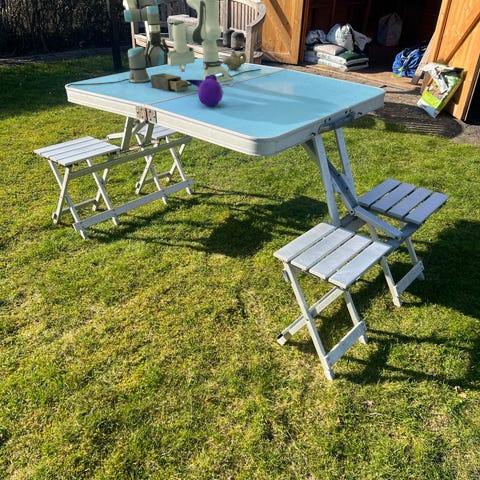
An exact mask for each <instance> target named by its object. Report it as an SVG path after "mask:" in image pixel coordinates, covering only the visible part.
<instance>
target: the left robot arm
mask: <svg viewBox="0 0 480 480" xmlns="http://www.w3.org/2000/svg"><path fill="white" fill-rule="evenodd" d="M122 5H123V8H124V10H123V15H124V21H125V22H126V23H136V22H137V23H138V22H144V30H145V36H146V40H145V43H146V44H145V48H144V47H143V46H137V47H132V48H130V49H128V50H127V57H128V64H129V65H128V66H129V76H128V78H125V79H122V80H117V81H107V82H97V83H95V82H94V83H69V84H70V85H69V84H68V85H67V87H68V88H69V87H70V86H89V85H93V86H94V85H106V84H115V83H116V84H117V83H121V82H125V81H128V82H129V83H133V84H141V83H148V82H150V81H151V78H150V76H149V74H148V71H147V67H149V68H151V67H152V66H162V65H168V52H169V51H170V48H169V46H168V45H167V42H166V39H165V38H162V33H161V25H160V14H159V12H160V11H159V4H158V0H122ZM169 53H170V52H169ZM72 131H73V135H74V137H76V132H75V129H73V130H72Z"/></svg>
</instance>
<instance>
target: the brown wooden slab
mask: <svg viewBox="0 0 480 480" xmlns="http://www.w3.org/2000/svg"><path fill="white" fill-rule="evenodd" d="M174 79H181V80H182V76H179V75H174V74H170V73H165V72H164V73H163V72H162V73H157V74H152V75H150V83H151V88H153V89H157V90H161V91H164V92H173V91H174V92H175V90H172V89H170V87H169V80H174Z"/></svg>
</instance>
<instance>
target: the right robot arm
mask: <svg viewBox="0 0 480 480" xmlns="http://www.w3.org/2000/svg"><path fill="white" fill-rule="evenodd" d="M185 1H186V4H187V5H188V7H190V8H191V9H193V10H195V11H196V12H197V19H196V20H197V21H196V25H193V26H192V25H191V26H190V25H188V24H185V21H183V20H178V21H175V22H173V23H172V28H171V31H172V32H171V34H172V39H173V43H172V46H173V50H169V52H170V53H169V52H168V59H167V61H168V64H167V65H168V66H169V67H178V69H179V73H184V72H185V71H186V70H185V69H186V67H187V65H190V64H194V63H195V62H196V57H195V55H196V53H195V48H194V47H192V46H189V45H188V43H192V44H198V45H200V44H201V46H202V56H203V60H202V64H203V65H202V66H203V74H202V75H203V76H202V80H205V77H206V76H209V75H215V76H216V78H217V82H219V83H223V82H228V81H232V80H233V78H232V77H236V76H238V75H241V74H244V73H248V72H255V71H261V70H262V68H258V69H251V70H246V71H245V70H244V71H241V72H239V73H236V74H233V75H230V74H229V70H227V69H226V68H225V67H224V66H222V65H224V62H223V60H220V59H219V56H220V55H219V47H218V44H217V41H218V40H219V39H221V36H222V29H221V27H220V26H221V25H220V20H219V0H185Z"/></svg>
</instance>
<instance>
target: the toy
mask: <svg viewBox="0 0 480 480" xmlns="http://www.w3.org/2000/svg"><path fill="white" fill-rule="evenodd" d="M185 80H186V81H188V83H191V84H192V86H194V87H197V88H198V89H197V97H198V100H199V102H200V103H201V105H204V106H207V107H215V106H217V105H218V104H219V103H220V102H221V101H222V99H223V96H224V92H223V87H222V85H221V83H220V82H217V78H216V76H215V75H209V76H206V77H205V80H203V79H185Z"/></svg>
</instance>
